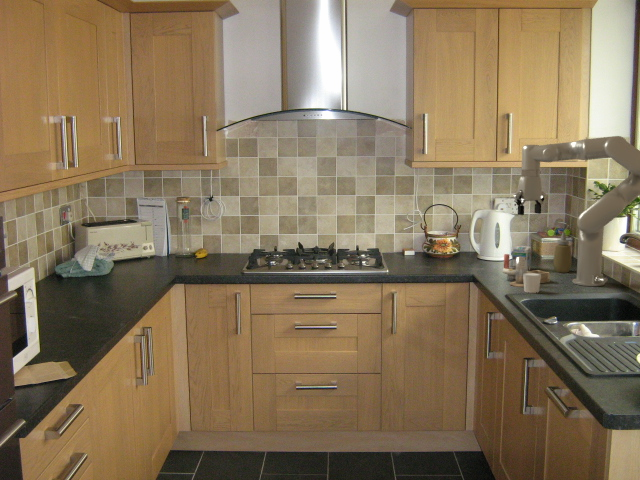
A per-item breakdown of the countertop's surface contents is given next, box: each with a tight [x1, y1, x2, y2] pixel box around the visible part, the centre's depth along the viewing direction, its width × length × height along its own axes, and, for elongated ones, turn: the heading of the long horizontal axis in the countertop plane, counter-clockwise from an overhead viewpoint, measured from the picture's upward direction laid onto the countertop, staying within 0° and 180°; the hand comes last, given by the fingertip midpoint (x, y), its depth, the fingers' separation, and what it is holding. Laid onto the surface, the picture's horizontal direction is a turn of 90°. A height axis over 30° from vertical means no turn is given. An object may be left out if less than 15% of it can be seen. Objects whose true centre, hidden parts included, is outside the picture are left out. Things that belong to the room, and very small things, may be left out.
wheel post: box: [506, 274, 516, 282], centre depth 309 cm, size 5×5×3 cm
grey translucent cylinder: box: [514, 256, 525, 284], centre depth 299 cm, size 4×4×11 cm
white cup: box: [523, 273, 541, 294], centre depth 287 cm, size 7×7×7 cm
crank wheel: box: [502, 253, 516, 275], centre depth 308 cm, size 9×9×8 cm
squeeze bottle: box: [553, 231, 573, 274], centre depth 325 cm, size 8×8×18 cm
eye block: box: [526, 269, 551, 284], centre depth 306 cm, size 7×7×4 cm
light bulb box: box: [512, 245, 532, 273], centre depth 330 cm, size 11×7×11 cm, turn 155°
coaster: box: [509, 281, 524, 288], centre depth 299 cm, size 9×9×1 cm
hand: (529, 214), depth 307 cm, fingers open, 9 cm apart
